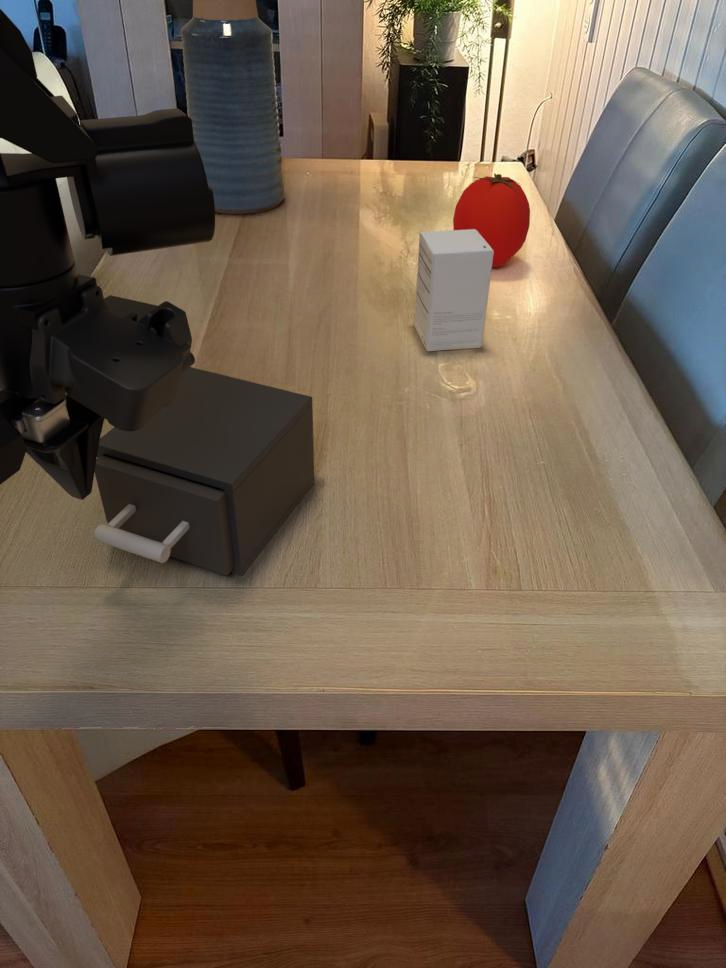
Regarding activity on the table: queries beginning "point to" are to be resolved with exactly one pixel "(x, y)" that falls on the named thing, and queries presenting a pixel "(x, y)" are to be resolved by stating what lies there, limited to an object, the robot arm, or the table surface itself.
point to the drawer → (163, 515)
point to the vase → (234, 104)
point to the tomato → (495, 215)
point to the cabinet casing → (230, 450)
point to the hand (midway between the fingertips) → (81, 495)
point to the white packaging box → (452, 289)
